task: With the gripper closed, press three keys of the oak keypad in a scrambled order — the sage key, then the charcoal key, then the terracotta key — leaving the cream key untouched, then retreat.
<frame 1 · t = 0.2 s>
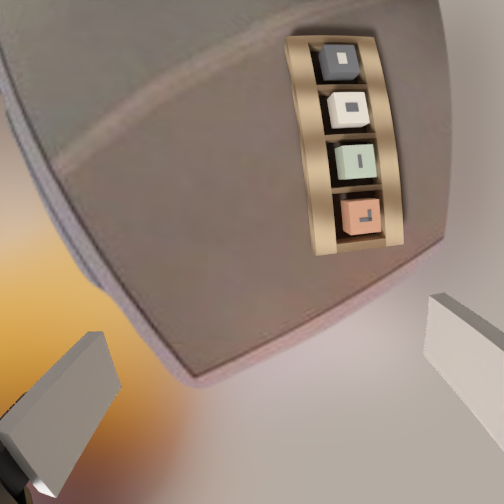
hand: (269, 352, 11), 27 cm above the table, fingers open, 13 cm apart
sage key: (355, 162, 32), point 3 cm above the table, slide at 0.0 cm
cream key: (347, 110, 31), point 3 cm above the table, slide at 0.0 cm
charcoal key: (338, 62, 30), point 3 cm above the table, slide at 0.0 cm
terracotta key: (360, 215, 34), point 3 cm above the table, slide at 0.0 cm
keypad frame: (344, 139, 35), on the table
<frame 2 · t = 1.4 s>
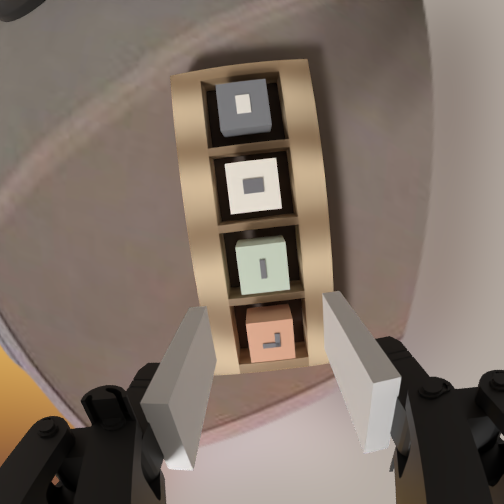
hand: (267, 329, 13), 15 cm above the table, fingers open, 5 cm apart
sage key: (262, 263, 24), point 3 cm above the table, slide at 0.0 cm
cream key: (253, 185, 23), point 3 cm above the table, slide at 0.0 cm
charcoal key: (244, 109, 22), point 3 cm above the table, slide at 0.0 cm
terracotta key: (270, 333, 26), point 3 cm above the table, slide at 0.0 cm
keypad frame: (258, 220, 27), on the table
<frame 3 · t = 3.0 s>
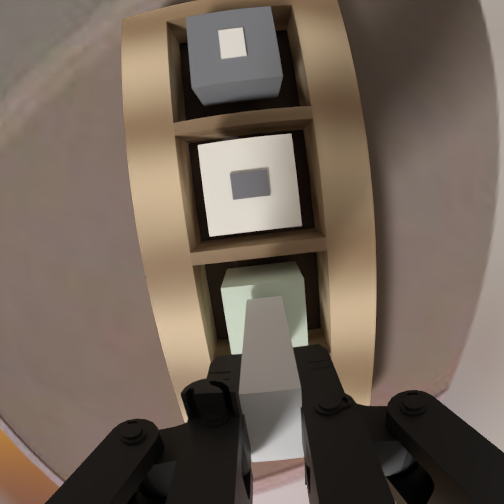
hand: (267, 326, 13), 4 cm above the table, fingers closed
sage key: (265, 308, 15), point 2 cm above the table, slide at 0.8 cm, touching gripper
cream key: (250, 184, 13), point 3 cm above the table, slide at 0.0 cm
charcoal key: (234, 57, 12), point 3 cm above the table, slide at 0.0 cm
keypad frame: (258, 240, 17), on the table
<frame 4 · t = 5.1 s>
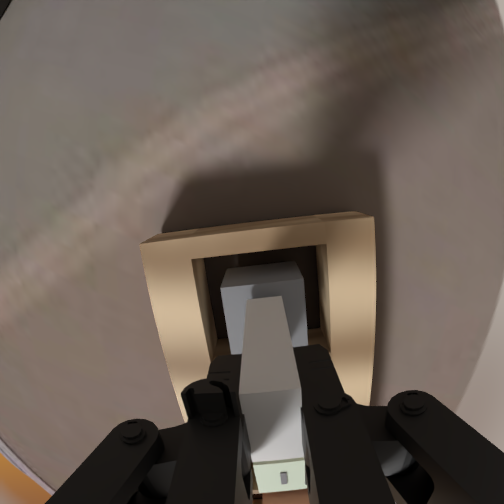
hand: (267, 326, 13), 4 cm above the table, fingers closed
sage key: (282, 461, 18), point 2 cm above the table, slide at 0.9 cm
charcoal key: (265, 308, 15), point 2 cm above the table, slide at 0.8 cm, touching gripper
keypad frame: (277, 411, 20), on the table
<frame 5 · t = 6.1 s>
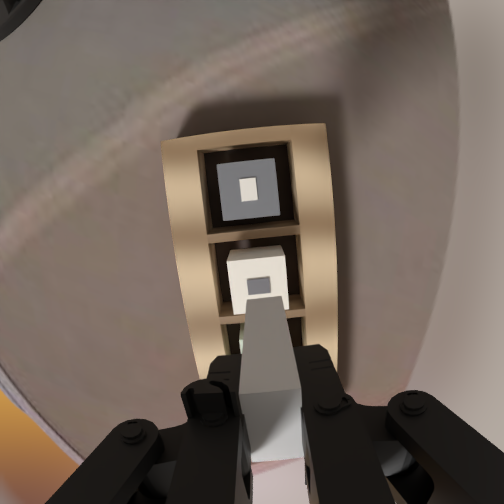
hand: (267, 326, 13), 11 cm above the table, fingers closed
sage key: (265, 348, 24), point 2 cm above the table, slide at 0.9 cm
cream key: (258, 278, 21), point 3 cm above the table, slide at 0.0 cm
charcoal key: (248, 188, 21), point 2 cm above the table, slide at 0.9 cm
keypad frame: (261, 301, 25), on the table
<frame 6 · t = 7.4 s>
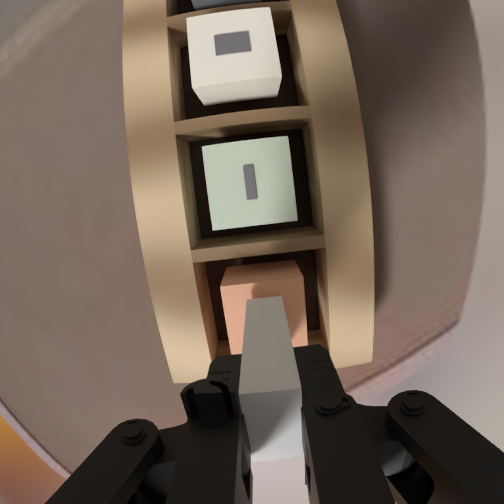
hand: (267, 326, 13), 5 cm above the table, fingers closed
sage key: (250, 182, 14), point 2 cm above the table, slide at 0.9 cm
cream key: (234, 57, 12), point 3 cm above the table, slide at 0.0 cm
terracotta key: (265, 306, 15), point 3 cm above the table, slide at 0.6 cm, touching gripper
keypad frame: (244, 128, 16), on the table
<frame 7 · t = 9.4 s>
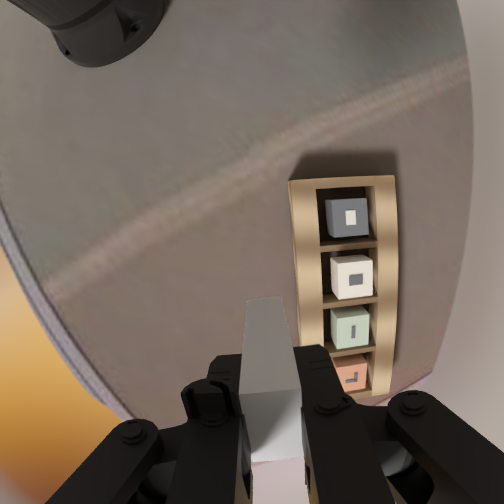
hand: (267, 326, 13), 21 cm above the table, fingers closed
sage key: (349, 326, 33), point 2 cm above the table, slide at 0.9 cm
cream key: (351, 276, 31), point 3 cm above the table, slide at 0.0 cm
charcoal key: (346, 216, 31), point 2 cm above the table, slide at 0.9 cm
terracotta key: (348, 371, 34), point 2 cm above the table, slide at 0.9 cm
keypad frame: (344, 294, 35), on the table
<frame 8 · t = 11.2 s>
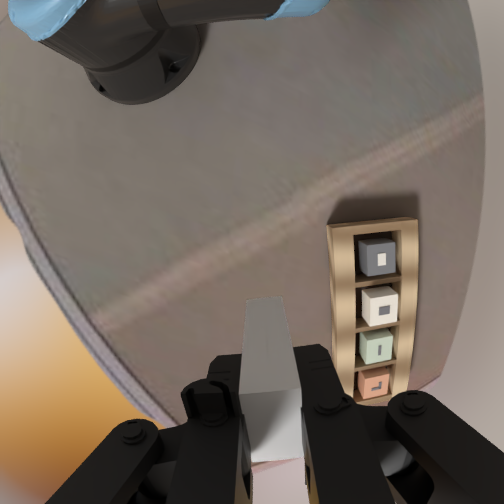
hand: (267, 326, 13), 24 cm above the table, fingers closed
sage key: (375, 344, 38), point 2 cm above the table, slide at 0.9 cm
cream key: (379, 305, 36), point 3 cm above the table, slide at 0.0 cm
charcoal key: (376, 256, 35), point 2 cm above the table, slide at 0.9 cm
terracotta key: (373, 380, 39), point 2 cm above the table, slide at 0.9 cm
keypad frame: (370, 317, 39), on the table
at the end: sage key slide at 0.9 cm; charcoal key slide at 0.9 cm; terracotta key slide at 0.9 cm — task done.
